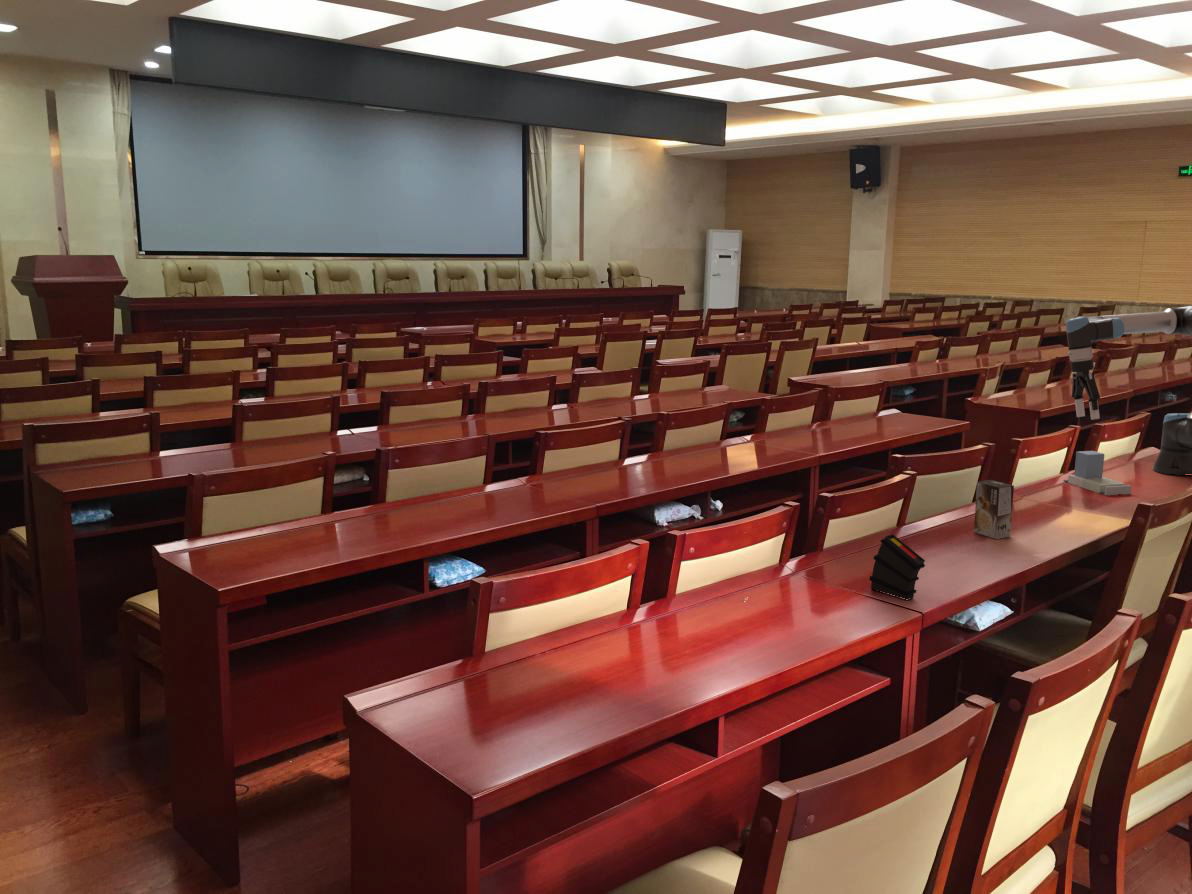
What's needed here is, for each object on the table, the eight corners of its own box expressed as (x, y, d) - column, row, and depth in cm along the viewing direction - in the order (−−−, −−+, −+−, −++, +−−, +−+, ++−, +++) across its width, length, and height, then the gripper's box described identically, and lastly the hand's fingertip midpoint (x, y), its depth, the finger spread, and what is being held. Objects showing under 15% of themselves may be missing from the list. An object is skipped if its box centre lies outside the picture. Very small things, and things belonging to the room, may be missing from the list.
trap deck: (1086, 479, 362) (1087, 472, 361) (1130, 493, 340) (1131, 485, 340) (1063, 481, 360) (1064, 473, 359) (1106, 495, 338) (1106, 487, 338)
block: (1090, 474, 357) (1092, 450, 356) (1102, 477, 352) (1104, 453, 350) (1074, 475, 356) (1076, 451, 354) (1085, 478, 350) (1087, 454, 348)
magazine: (868, 577, 249) (892, 532, 242) (906, 611, 241) (933, 565, 234) (859, 580, 247) (883, 535, 240) (897, 614, 239) (924, 569, 232)
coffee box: (1011, 537, 290) (1015, 485, 287) (995, 539, 287) (1000, 487, 284) (987, 529, 298) (991, 479, 295) (972, 532, 295) (976, 481, 292)
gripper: (1058, 361, 362) (1064, 417, 363) (1083, 362, 337) (1090, 421, 339) (1079, 358, 361) (1085, 414, 362) (1106, 358, 336) (1112, 418, 338)
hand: (1088, 417), depth 350 cm, fingers open, 13 cm apart
